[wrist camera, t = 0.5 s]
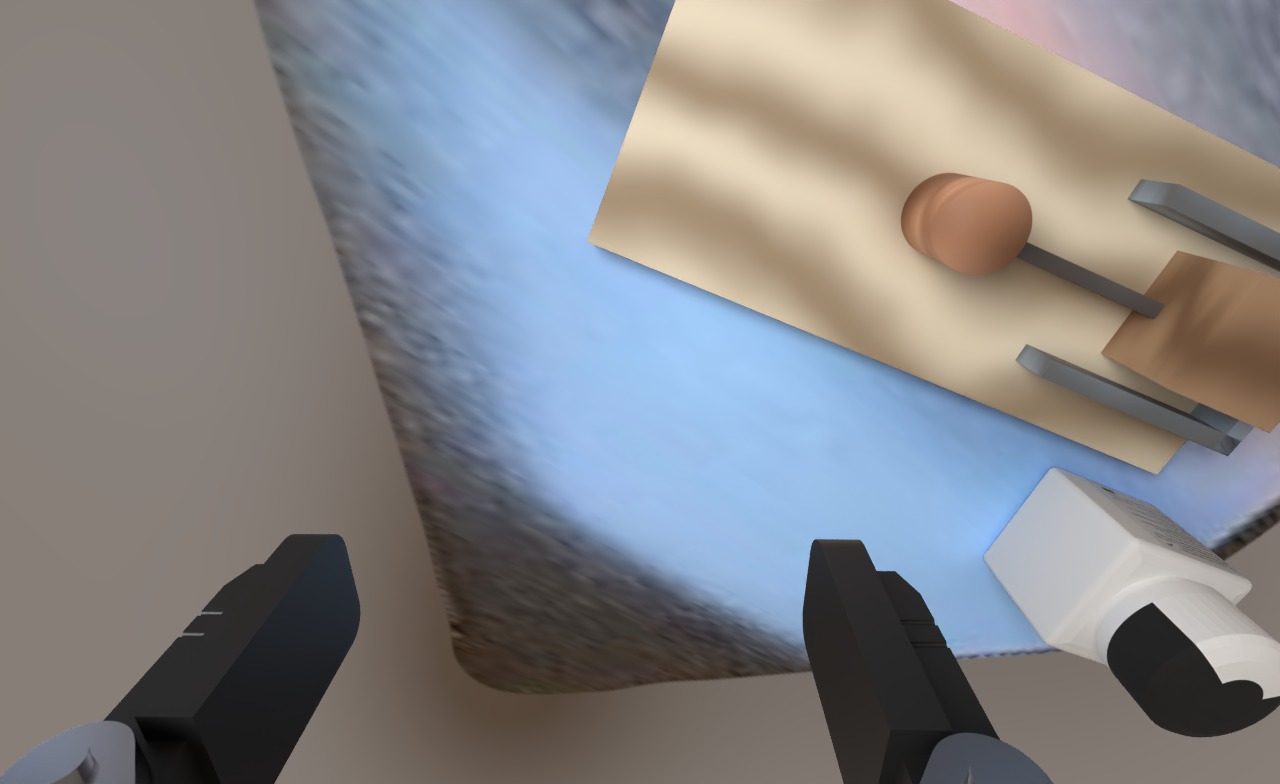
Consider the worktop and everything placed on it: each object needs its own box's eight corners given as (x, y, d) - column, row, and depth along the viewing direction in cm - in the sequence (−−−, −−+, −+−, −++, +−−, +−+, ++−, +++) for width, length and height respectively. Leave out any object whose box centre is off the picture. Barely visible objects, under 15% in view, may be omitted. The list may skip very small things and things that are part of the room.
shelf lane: (715, -106, 28) (725, -139, 24) (1347, 213, 33) (1435, 226, 29) (589, 236, 34) (582, 251, 30) (1139, 461, 39) (1189, 498, 35)
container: (1076, 592, 43) (1238, 775, 31) (978, 557, 42) (1107, 732, 30) (1152, 503, 40) (1363, 667, 28) (1050, 463, 39) (1224, 616, 27)
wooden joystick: (940, 138, 30) (991, 143, 26) (1270, 294, 33) (1369, 323, 28) (875, 254, 33) (912, 278, 28) (1189, 391, 35) (1269, 432, 31)
